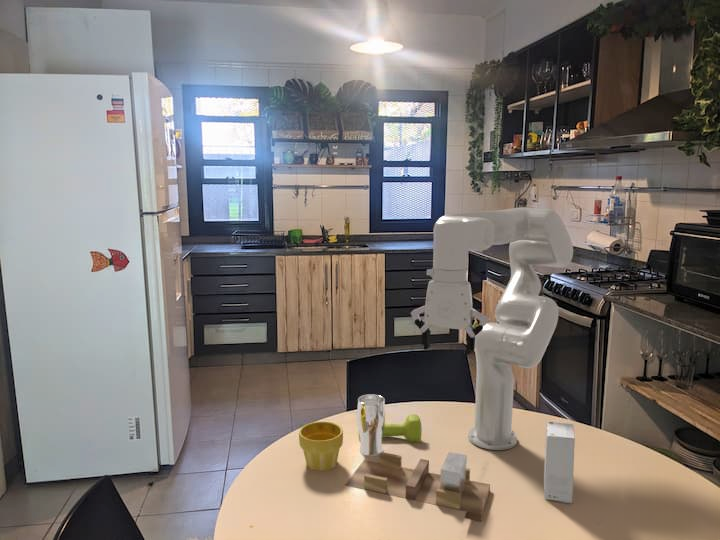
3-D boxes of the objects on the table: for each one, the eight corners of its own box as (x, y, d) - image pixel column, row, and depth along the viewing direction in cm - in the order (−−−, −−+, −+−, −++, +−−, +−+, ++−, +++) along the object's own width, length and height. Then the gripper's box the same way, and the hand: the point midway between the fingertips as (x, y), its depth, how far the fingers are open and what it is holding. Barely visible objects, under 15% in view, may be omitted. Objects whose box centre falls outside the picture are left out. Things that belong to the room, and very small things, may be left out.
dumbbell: (358, 450, 144) (358, 423, 143) (358, 435, 152) (358, 410, 151) (422, 450, 144) (423, 423, 143) (419, 435, 152) (419, 410, 151)
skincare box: (572, 504, 120) (577, 439, 118) (542, 499, 122) (546, 435, 119) (570, 484, 128) (574, 423, 126) (542, 479, 130) (546, 419, 127)
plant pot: (302, 482, 129) (301, 442, 127) (297, 460, 139) (296, 422, 137) (346, 477, 131) (346, 438, 129) (339, 456, 141) (338, 419, 139)
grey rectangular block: (447, 480, 126) (448, 452, 125) (465, 484, 125) (466, 455, 124) (440, 500, 119) (440, 469, 118) (458, 503, 118) (459, 473, 117)
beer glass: (382, 464, 137) (383, 406, 134) (354, 461, 138) (354, 403, 135) (386, 450, 143) (387, 395, 141) (360, 448, 145) (360, 392, 142)
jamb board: (363, 465, 136) (364, 448, 135) (489, 490, 125) (490, 472, 125) (344, 491, 125) (344, 472, 124) (481, 521, 114) (481, 501, 114)
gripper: (407, 276, 124) (406, 351, 126) (487, 281, 117) (483, 360, 120) (416, 270, 130) (415, 341, 133) (492, 275, 124) (489, 350, 127)
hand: (447, 350), depth 127 cm, fingers open, 9 cm apart
